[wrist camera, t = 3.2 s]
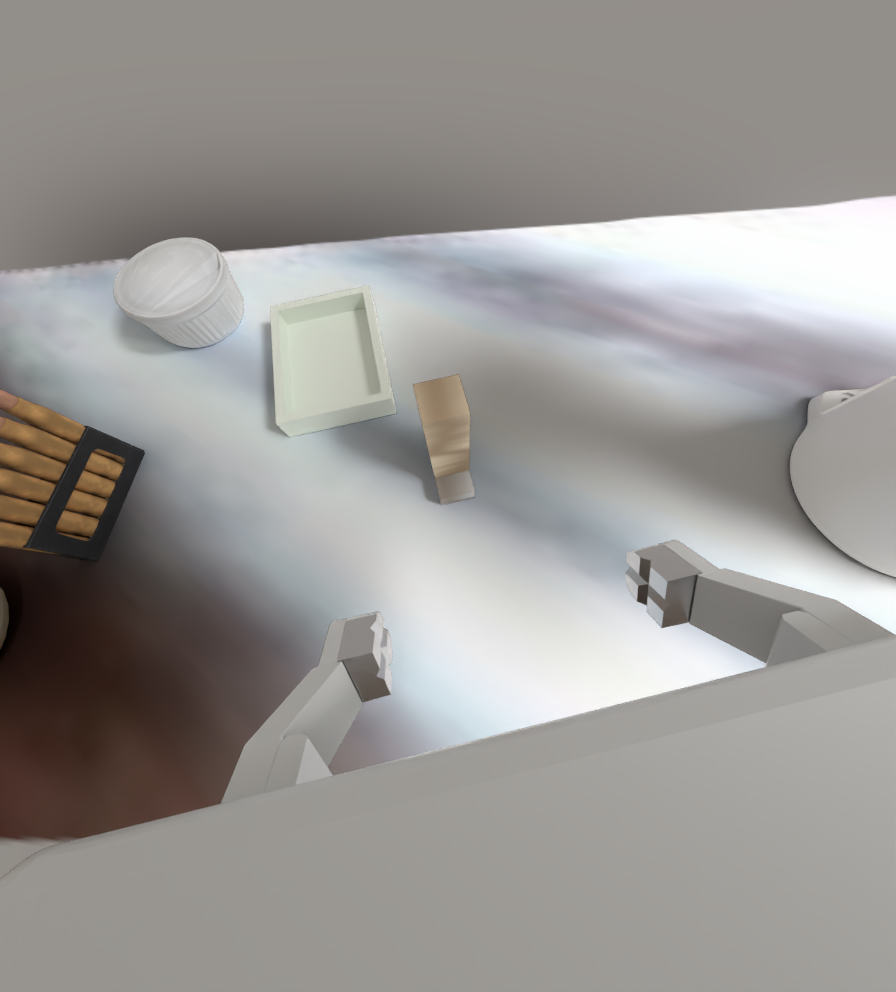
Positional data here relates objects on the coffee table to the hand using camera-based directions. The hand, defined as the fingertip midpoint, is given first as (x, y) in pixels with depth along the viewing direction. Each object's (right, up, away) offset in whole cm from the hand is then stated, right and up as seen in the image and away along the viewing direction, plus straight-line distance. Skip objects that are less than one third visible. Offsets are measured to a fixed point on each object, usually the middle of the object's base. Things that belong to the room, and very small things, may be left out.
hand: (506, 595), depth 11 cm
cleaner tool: (-2, +6, +19) cm, 20 cm away
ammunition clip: (-33, +3, +20) cm, 39 cm away
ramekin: (-30, +24, +27) cm, 47 cm away
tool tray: (-14, +17, +24) cm, 32 cm away
